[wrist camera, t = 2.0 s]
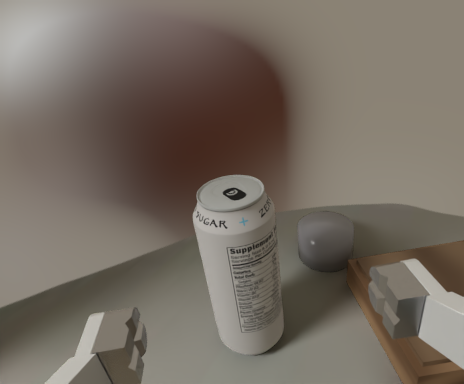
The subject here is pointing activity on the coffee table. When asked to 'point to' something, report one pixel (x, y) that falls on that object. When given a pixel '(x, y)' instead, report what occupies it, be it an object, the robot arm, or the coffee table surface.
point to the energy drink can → (241, 261)
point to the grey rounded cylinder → (325, 241)
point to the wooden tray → (413, 348)
